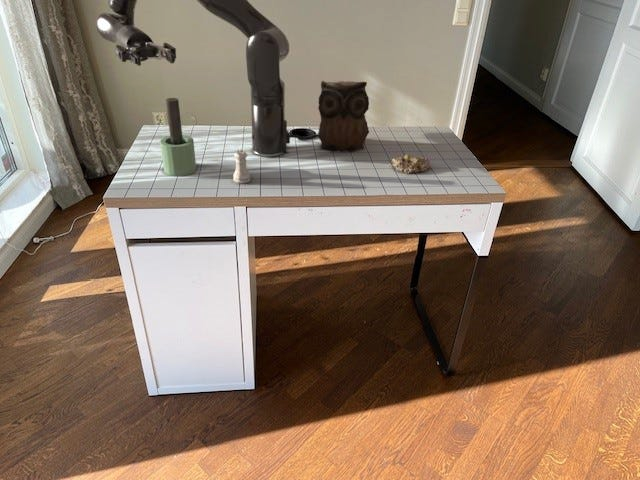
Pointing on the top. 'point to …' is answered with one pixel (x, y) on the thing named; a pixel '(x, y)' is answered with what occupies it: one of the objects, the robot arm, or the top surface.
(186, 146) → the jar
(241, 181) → the rook chess piece
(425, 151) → the top surface
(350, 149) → the owl
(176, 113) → the rod
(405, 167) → the mineral rock
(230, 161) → the top surface
